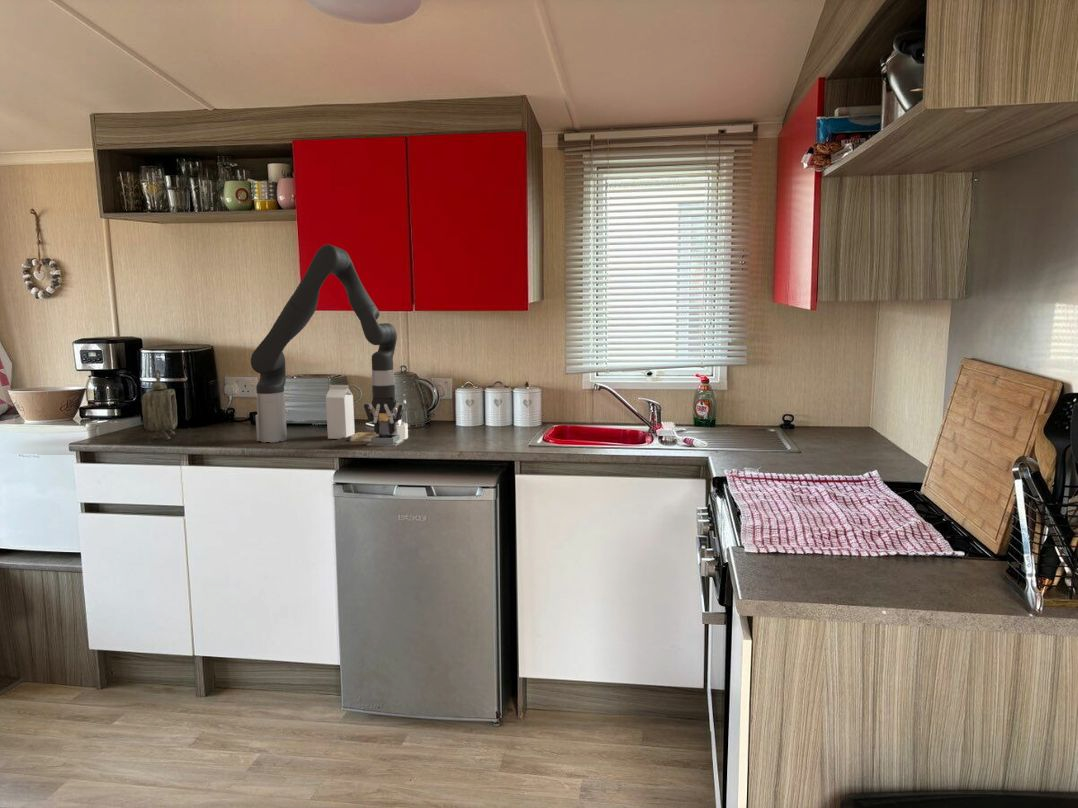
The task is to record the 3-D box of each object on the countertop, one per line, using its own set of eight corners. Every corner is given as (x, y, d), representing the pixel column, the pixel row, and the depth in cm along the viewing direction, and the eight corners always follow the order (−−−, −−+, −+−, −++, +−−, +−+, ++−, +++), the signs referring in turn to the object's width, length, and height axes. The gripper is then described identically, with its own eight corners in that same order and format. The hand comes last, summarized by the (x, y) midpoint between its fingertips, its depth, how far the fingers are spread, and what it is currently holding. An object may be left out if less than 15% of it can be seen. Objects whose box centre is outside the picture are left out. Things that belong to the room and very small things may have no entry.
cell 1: (377, 442, 263) (375, 411, 261) (381, 440, 267) (380, 409, 266) (389, 443, 262) (388, 411, 261) (393, 440, 266) (392, 409, 265)
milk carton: (346, 439, 277) (343, 386, 275) (327, 439, 279) (325, 386, 276) (354, 435, 284) (352, 383, 281) (336, 435, 285) (334, 383, 283)
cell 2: (388, 439, 272) (387, 409, 271) (392, 436, 276) (391, 407, 275) (400, 439, 271) (399, 409, 270) (404, 437, 276) (403, 407, 274)
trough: (349, 443, 270) (349, 436, 270) (357, 439, 277) (357, 432, 276) (374, 443, 269) (374, 436, 268) (382, 439, 275) (381, 432, 275)
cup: (382, 442, 271) (382, 425, 270) (390, 438, 278) (389, 422, 277) (403, 442, 270) (402, 426, 269) (410, 438, 277) (409, 422, 276)
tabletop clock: (172, 441, 278) (166, 371, 274) (144, 443, 275) (138, 372, 272) (178, 434, 292) (173, 367, 288) (152, 436, 289) (146, 368, 286)
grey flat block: (366, 447, 261) (366, 438, 261) (376, 442, 270) (376, 433, 270) (395, 448, 260) (395, 439, 259) (404, 443, 268) (404, 434, 268)
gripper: (358, 384, 259) (360, 435, 262) (400, 384, 257) (402, 436, 259) (367, 382, 267) (369, 431, 269) (407, 382, 264) (409, 432, 267)
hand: (385, 433), depth 264 cm, fingers closed on cell 1, 4 cm apart
